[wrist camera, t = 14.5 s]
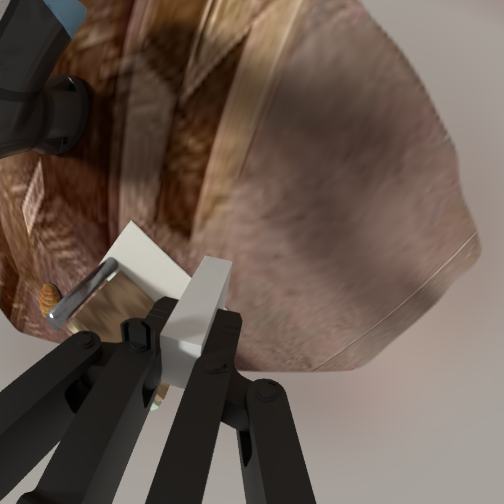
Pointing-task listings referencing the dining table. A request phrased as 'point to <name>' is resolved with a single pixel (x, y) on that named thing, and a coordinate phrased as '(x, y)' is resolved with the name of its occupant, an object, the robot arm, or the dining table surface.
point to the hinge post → (81, 293)
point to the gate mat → (148, 265)
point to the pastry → (48, 298)
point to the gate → (115, 313)
